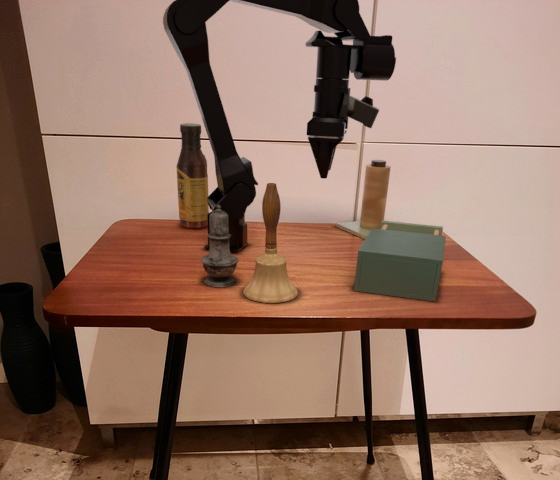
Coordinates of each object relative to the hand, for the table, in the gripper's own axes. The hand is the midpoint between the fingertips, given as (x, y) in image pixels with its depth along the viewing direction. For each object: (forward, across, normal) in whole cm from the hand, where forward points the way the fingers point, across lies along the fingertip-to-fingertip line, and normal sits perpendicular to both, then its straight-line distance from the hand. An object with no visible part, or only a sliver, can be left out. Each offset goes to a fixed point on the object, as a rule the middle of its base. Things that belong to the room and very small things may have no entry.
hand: (325, 174), depth 101 cm
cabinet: (+13, -19, -14) cm, 27 cm away
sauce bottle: (+13, +6, +28) cm, 31 cm away
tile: (+13, +13, -10) cm, 21 cm away
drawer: (+12, -7, -16) cm, 21 cm away
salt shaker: (+13, -26, +14) cm, 33 cm away
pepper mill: (+12, +13, -10) cm, 20 cm away
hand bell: (+13, -30, +5) cm, 33 cm away
